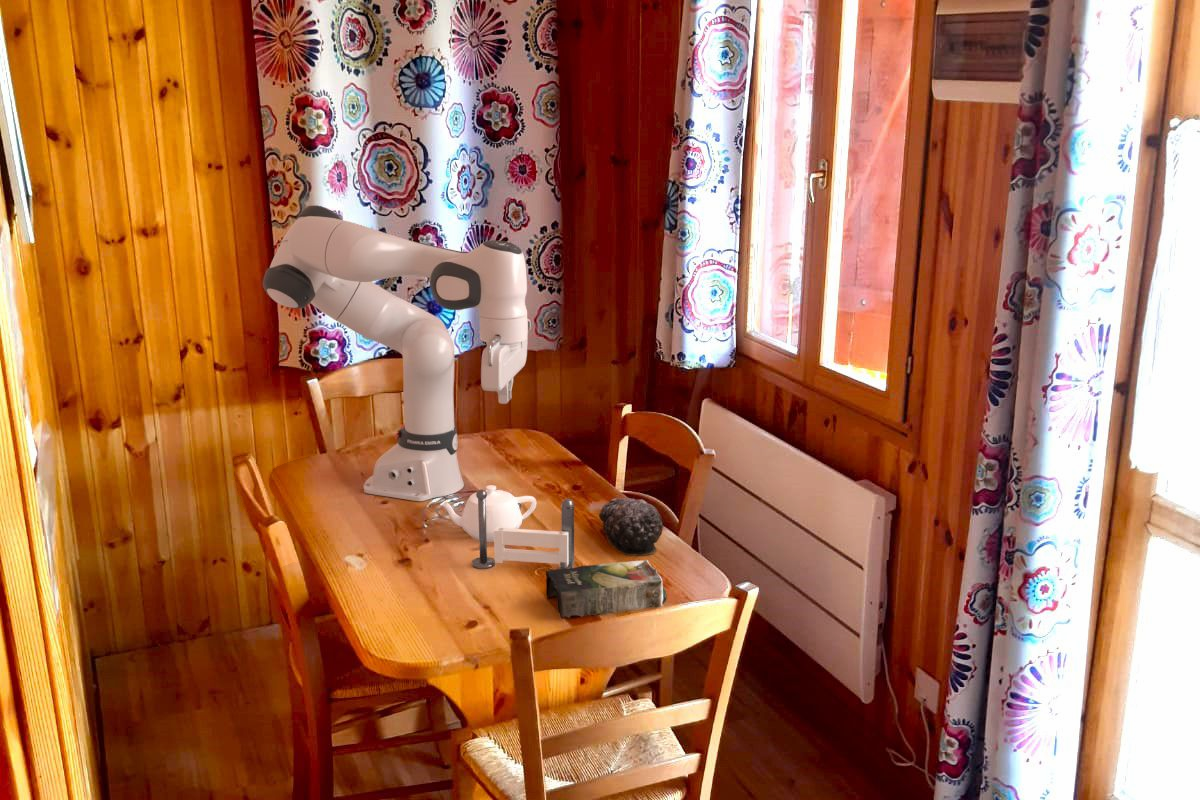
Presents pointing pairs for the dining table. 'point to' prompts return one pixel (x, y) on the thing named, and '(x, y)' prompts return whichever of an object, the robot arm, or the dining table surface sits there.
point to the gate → (535, 540)
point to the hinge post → (482, 534)
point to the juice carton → (605, 588)
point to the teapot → (492, 512)
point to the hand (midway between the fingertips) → (505, 401)
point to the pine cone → (631, 525)
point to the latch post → (568, 526)
